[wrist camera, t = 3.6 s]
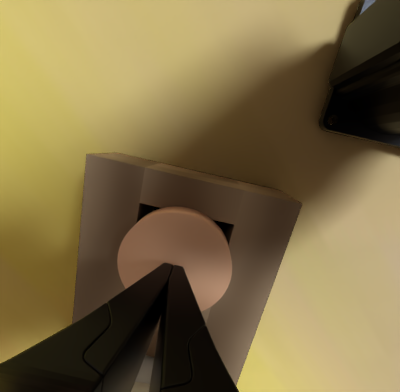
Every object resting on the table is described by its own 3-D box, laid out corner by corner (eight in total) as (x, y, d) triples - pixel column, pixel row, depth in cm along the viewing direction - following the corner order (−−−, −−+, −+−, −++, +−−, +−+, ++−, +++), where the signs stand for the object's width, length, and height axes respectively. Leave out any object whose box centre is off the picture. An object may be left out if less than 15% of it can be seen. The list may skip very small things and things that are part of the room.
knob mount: (279, 190, 12) (302, 203, 9) (189, 462, 18) (185, 523, 15) (117, 152, 12) (86, 154, 9) (82, 438, 18) (58, 494, 15)
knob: (235, 204, 12) (246, 228, 8) (214, 277, 13) (216, 326, 10) (151, 184, 12) (125, 200, 8) (138, 259, 13) (111, 302, 10)
